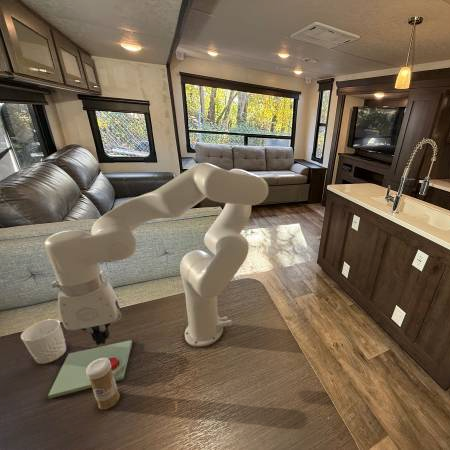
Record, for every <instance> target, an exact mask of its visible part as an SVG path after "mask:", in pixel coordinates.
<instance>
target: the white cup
mask: <svg viewBox="0 0 450 450" xmlns="http://www.w3.org/2000/svg"><path fill="white" fill-rule="evenodd" d="M20 339H21V341H22V342H23V344H24V346H25V347H26V350H27V351H28V352H29V354H30V355H31V356H32V358H33V360H34V361H35V362H36V363H37V364H40V365H45V364H48V363H52V362H54V361H56V360H58V359H59V358H61V357H62V356H63V355H64V354H65V352H66V351H67V343H66V339H65V336H64V332H63V328H62V325H61V321H59V320H58V319H56V318H50V319H44V320H41V321H38V322H36V323H33V324H31V325H30V326H28V327H26V328H25V329H24V330H23V331H22V332H21V334H20Z"/></svg>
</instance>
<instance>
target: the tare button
mask: <svg viewBox="0 0 450 450" xmlns="http://www.w3.org/2000/svg"><path fill="white" fill-rule="evenodd" d="M109 360H110V363H111V370H112V371H113V370H114V369H116V368H117V366H118V361H117V358H115V357H112V358H109Z"/></svg>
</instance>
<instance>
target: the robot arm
mask: <svg viewBox="0 0 450 450" xmlns="http://www.w3.org/2000/svg"><path fill="white" fill-rule="evenodd" d="M268 195H269V184H268V183H267V181H266V180H265V179H264V178H263V177H262V176H260V175H257V174H256V173H255V174H254V173H252V172H249V171H247V170H244V169H242V168H232V169H230V170H228V169H225V168H222V167H219V166H217V165H214V164H211V163H209V162H200V163H197V164H194V165H193V166H191V167H190V168H188V169H187V170H185V171H183V172H181V173H180V174H179V175H177V176H176V177H174V178H172V179H170V180H169V181H168V182H167V183H165V184H163V185H161V186H160V187H158V188H157V189H155V190H153V191H150V192H146V193H144V194H141V195H139V196H136V197H133V198H130V199H129V200H126V201H124V202H122V203H119V204H118V205H117V206H116V207H113V208H112V209H110V210H109V211H107V212H106V213H104V214H103V215H102V216H100V217H98V218H97V220H96V221H95V222H94V223H93V225H92V226H91V230H90V233H89V231H86V230H82V229H70V230H63V231H59V232H57V233H53V234H52V235H50V236H49V237H48V238H46V239H45V241H44V249H45V252H46V255H47V257H48V259H49V262H50V264H51V267H52V270H53V272H54V274H55V278H56V280H55V281H52V282H51V288H54V289H55V288H57V289H59V290H60V291H59V292H58V294H57V301H58V302H57V303H58V310H59V315H60V318H61V323H62V325H63V327H64V328H65V330H67V331H77V330H81V331H85V332H86V333H87V334H88V335H91V338H92V340H93V341H94V342H95V345H96V346H100V345H105V344H106V341H107V339H109V338H110V331H109V328H108V327H109V326H110V325H111V324H112V323H115V322H118V321H120V320H122V317H123V314H122V311H120V309H121V305H120V302H119V299H118V297H117V296H118V295H117V294H116V292H115V290H114V288H113V286H112V285H111V283H110V281H108V280H107V279H105V277H104V274H103V271H102V267H101V263H110V262H119V261H122V260H125V259H128V258H130V257H131V256H133V254H135V252H136V251H137V249H138V241H137V239H136V237H135V235H134V234H133V231H134V230H136V229H137V228H139V227H140V226H142V225H144V224H145V223H148V222H150V221H153V220H156V219H174V218H179V217H181V216H182V215H184V214H185V213H186V212H188V211H190V210H191V209H192V208H193V207H195V206H196V205H198V204H199V203H200V202H202V201H204V200H205V199H208V200H210V201H213V202H217V203H223V204H225V205H224V207H223V209H222V210H221V212H220V213H219V215H218V216H217V218H216V219H215V220H214V221H213V223H212V224H211V226H210V227H209V228H208V230H207V231H206V233H205V235H204V238H203V243H204V245H205V247H206V248H207V249H208V250H209V251H210V253H212V254H213V255H214V256H213V257H212V255H210V254H209V253H207V252H206V251H204V250H200V249H195V250H191V251H189V252H188V253H186V254H185V255H184V256H183V257H182V259H181V261H180V264H179V272H180V277H181V281H182V285H183V289H184V296H185V305H186V314H187V315H186V316H187V323H188V325H187V327H186V328H185V331H184V339H185V341H186V343H187V344H188V345H190V346H192V347H199V348H200V347H201V348H203V347H207V346H210V345H212V344H214V343H215V342H217V341H218V340H219V339H220V338H221V336H222V335H223V332H224V327H231V326H233V320H232V319H228V316H227V315H226V316H223V317H221V316H219V310H218V296H219V295H220V294H221V293H223V291H225V289H227V287H228V285H229V284H230V283H231V281H232V280H233V278H234V277H235V276H236V274H237V272H239V270H240V269H241V267H242V266H243V264H244V262H245V260H246V259H247V257H248V254H249V249H250V248H249V241H248V240H247V239H246V238H245V236H244V235H242V234H241V233H242V231H243V230H244V228H245V227H246V225H247V224H248V221H249V219H250V217H251V215H252V214H251V213H252V206H256V205H260V204H261V203H263V202H264V201H265V200H266V199H267V197H268Z"/></svg>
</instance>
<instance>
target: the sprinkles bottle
mask: <svg viewBox="0 0 450 450" xmlns="http://www.w3.org/2000/svg"><path fill="white" fill-rule="evenodd" d="M86 374H87V377H88V378H89V379H90V382H91V385H92V387H91V388H92V391H93V395H94V398H95V400H96V402H97V407H98V409H100V410H102V411H103V410H108V409H110V408H112V407H114V406H115V405H116V404H117V403H118V401H119V399H120V396H121V395H120V392H119V391H118V385H117V381H115V379H114V375H113V373H112V370H111V363H110V360H109V359H108V358H99V359H97V360H95V361H93V362H92V363H90V364H89V365H88V367H87V369H86Z"/></svg>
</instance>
